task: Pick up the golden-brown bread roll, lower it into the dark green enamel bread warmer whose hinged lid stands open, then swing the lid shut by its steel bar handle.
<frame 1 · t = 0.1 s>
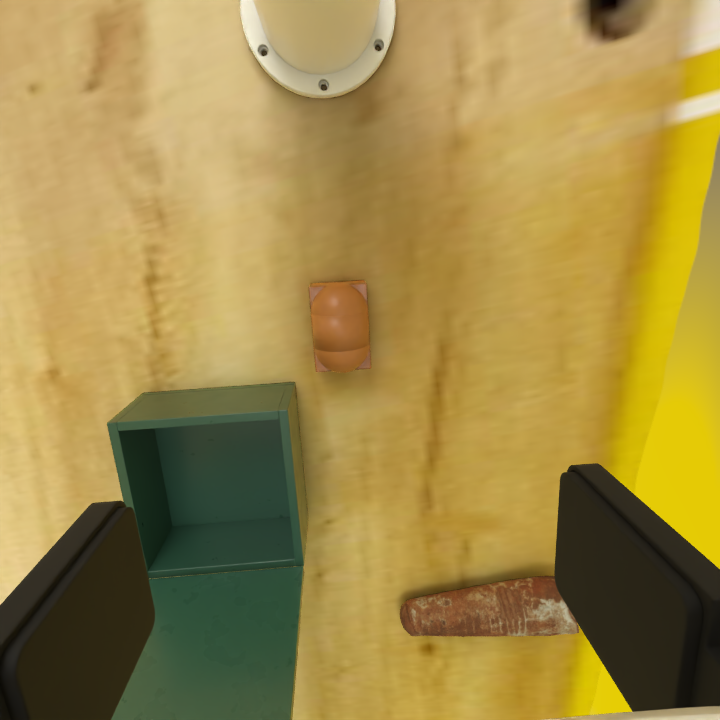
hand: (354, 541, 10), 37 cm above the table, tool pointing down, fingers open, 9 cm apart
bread: (478, 597, 56), on the table
bread roll: (340, 322, 46), on the table
warmer lid: (202, 682, 36), point 16 cm above the table, hinge at 92.0°
bread warmer: (229, 457, 49), on the table
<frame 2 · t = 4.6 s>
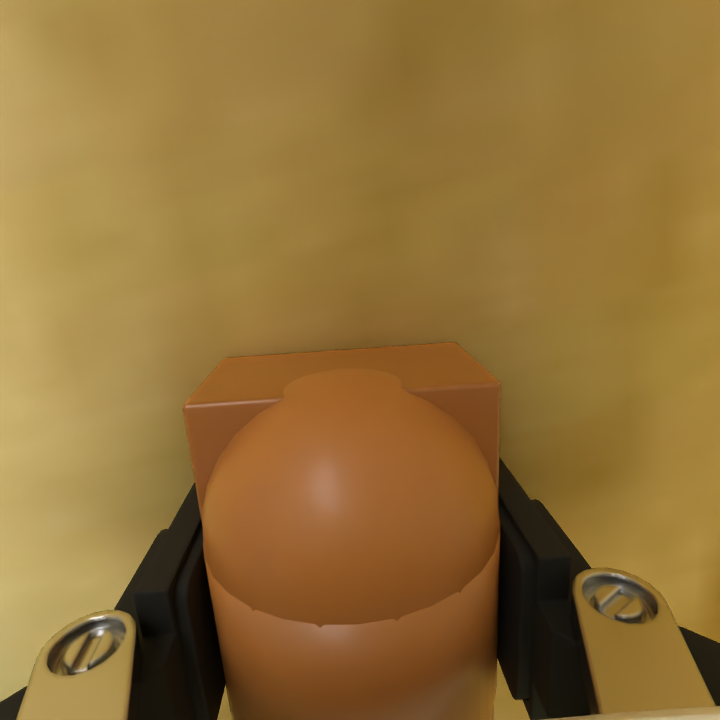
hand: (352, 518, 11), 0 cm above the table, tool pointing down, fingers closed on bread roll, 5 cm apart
bread roll: (352, 507, 12), on the table, touching gripper
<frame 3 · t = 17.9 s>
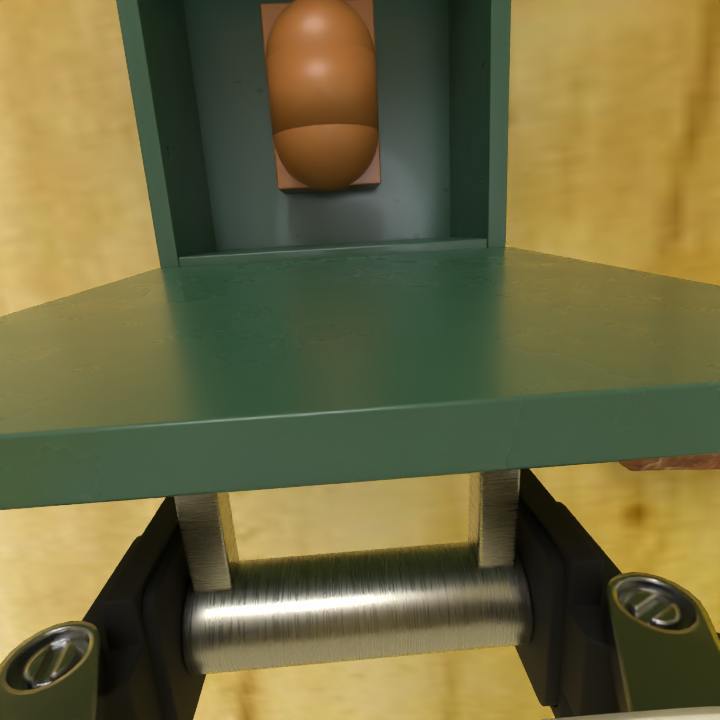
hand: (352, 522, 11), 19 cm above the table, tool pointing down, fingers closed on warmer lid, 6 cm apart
bread roll: (324, 113, 25), point 1 cm above the table, touching bread warmer
warmer lid: (344, 394, 13), point 16 cm above the table, hinge at 92.0°, touching gripper
bread warmer: (325, 113, 26), on the table
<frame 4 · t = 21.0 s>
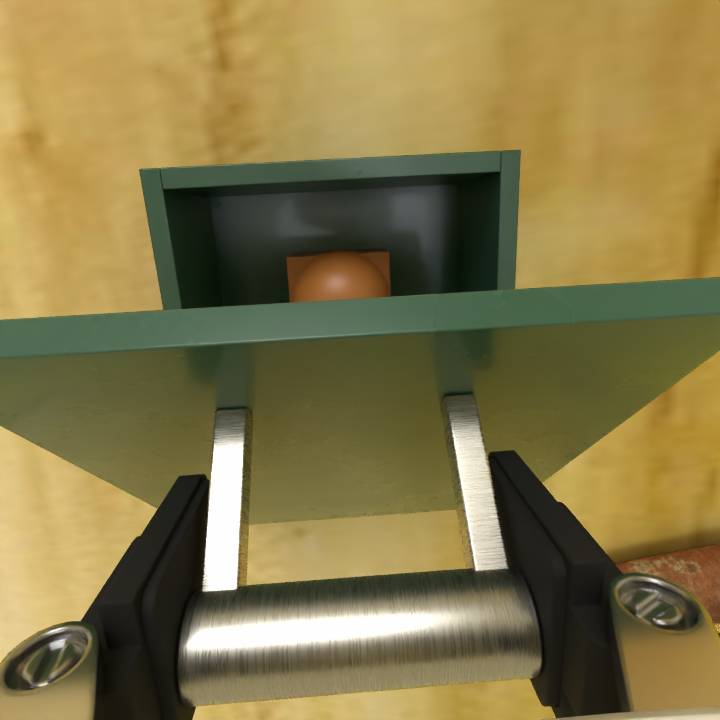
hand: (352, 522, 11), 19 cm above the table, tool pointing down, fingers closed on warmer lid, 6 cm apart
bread: (715, 561, 35), on the table
bread roll: (342, 320, 28), point 1 cm above the table, touching bread warmer
warmer lid: (355, 544, 14), point 16 cm above the table, hinge at 44.9°, touching gripper
bread warmer: (342, 315, 28), on the table
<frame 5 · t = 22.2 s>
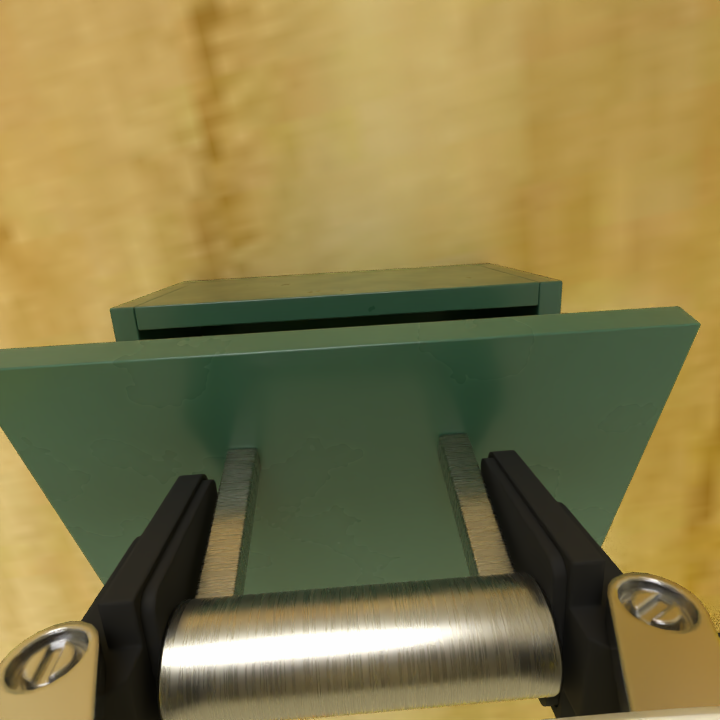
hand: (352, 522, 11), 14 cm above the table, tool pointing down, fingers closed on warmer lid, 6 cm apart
warmer lid: (362, 650, 13), point 14 cm above the table, hinge at 19.5°, touching gripper
bread warmer: (348, 419, 25), on the table
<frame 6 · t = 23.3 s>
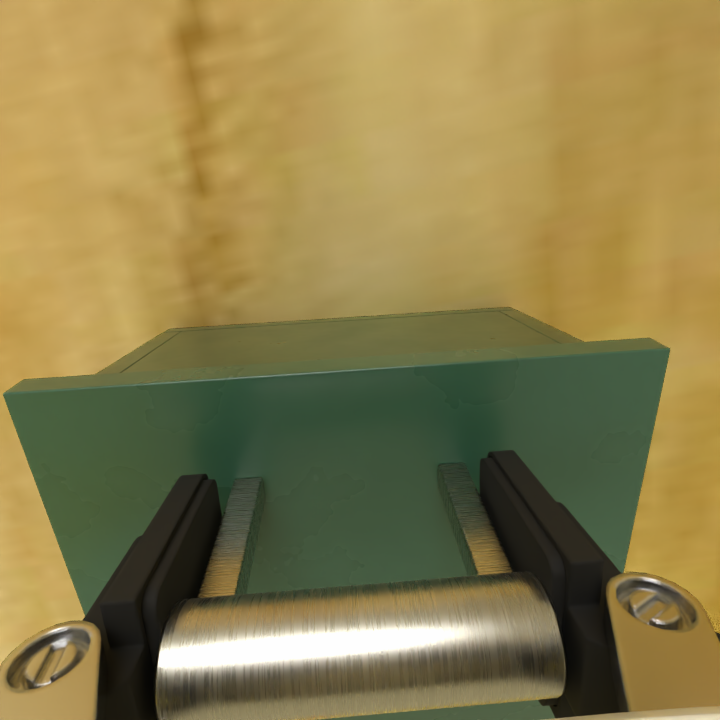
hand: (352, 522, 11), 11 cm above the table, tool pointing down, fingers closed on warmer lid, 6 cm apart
warmer lid: (366, 713, 12), point 12 cm above the table, hinge at 6.0°, touching gripper
bread warmer: (352, 475, 23), on the table
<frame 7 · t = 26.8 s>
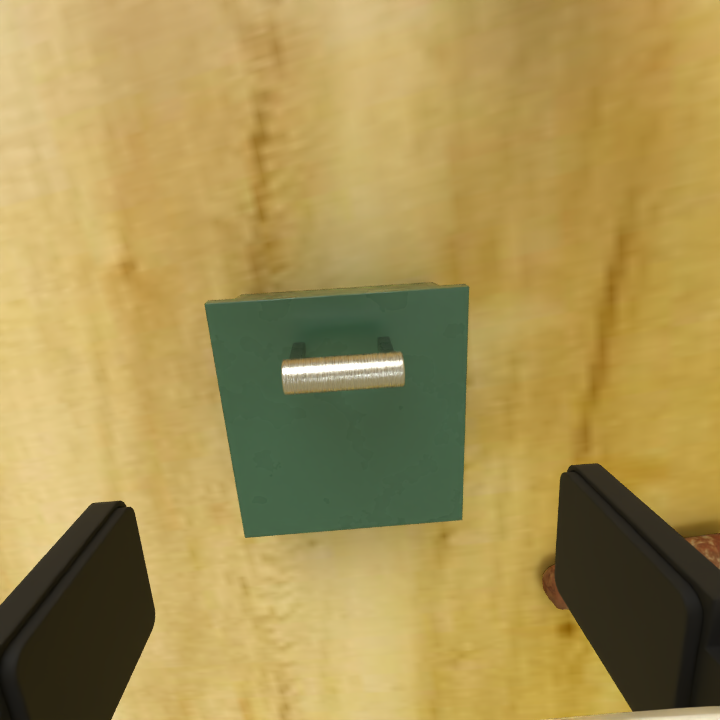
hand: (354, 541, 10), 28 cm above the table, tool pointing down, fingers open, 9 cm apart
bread: (633, 562, 45), on the table
warmer lid: (348, 441, 28), point 12 cm above the table, hinge at 5.5°
bread warmer: (344, 383, 39), on the table
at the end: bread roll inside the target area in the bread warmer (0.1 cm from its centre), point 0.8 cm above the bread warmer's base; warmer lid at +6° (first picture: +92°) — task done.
